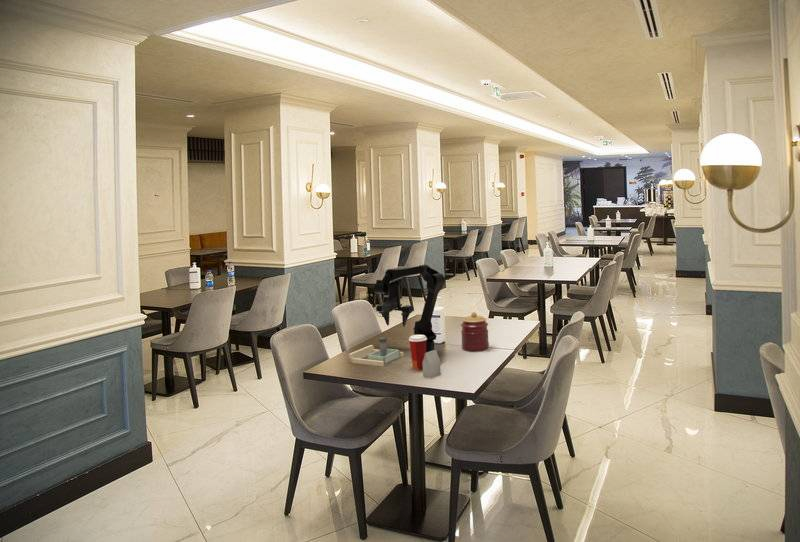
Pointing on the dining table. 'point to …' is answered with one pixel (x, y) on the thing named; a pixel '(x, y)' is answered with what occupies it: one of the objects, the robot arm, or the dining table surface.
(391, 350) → the green base with post
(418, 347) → the paper cup
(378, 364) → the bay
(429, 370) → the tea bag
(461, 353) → the dining table surface
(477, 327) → the canister
